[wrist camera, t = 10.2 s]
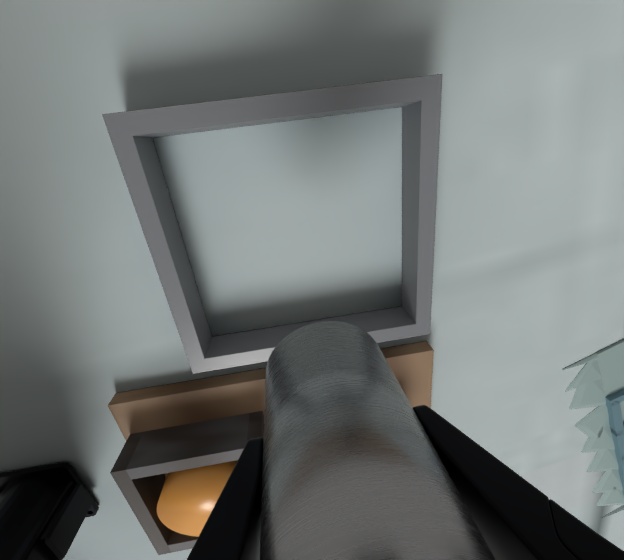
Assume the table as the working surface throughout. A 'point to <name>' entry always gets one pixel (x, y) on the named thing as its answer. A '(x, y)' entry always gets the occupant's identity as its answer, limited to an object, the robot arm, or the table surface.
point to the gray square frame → (269, 109)
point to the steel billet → (352, 459)
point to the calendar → (603, 418)
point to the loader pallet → (212, 430)
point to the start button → (192, 496)
